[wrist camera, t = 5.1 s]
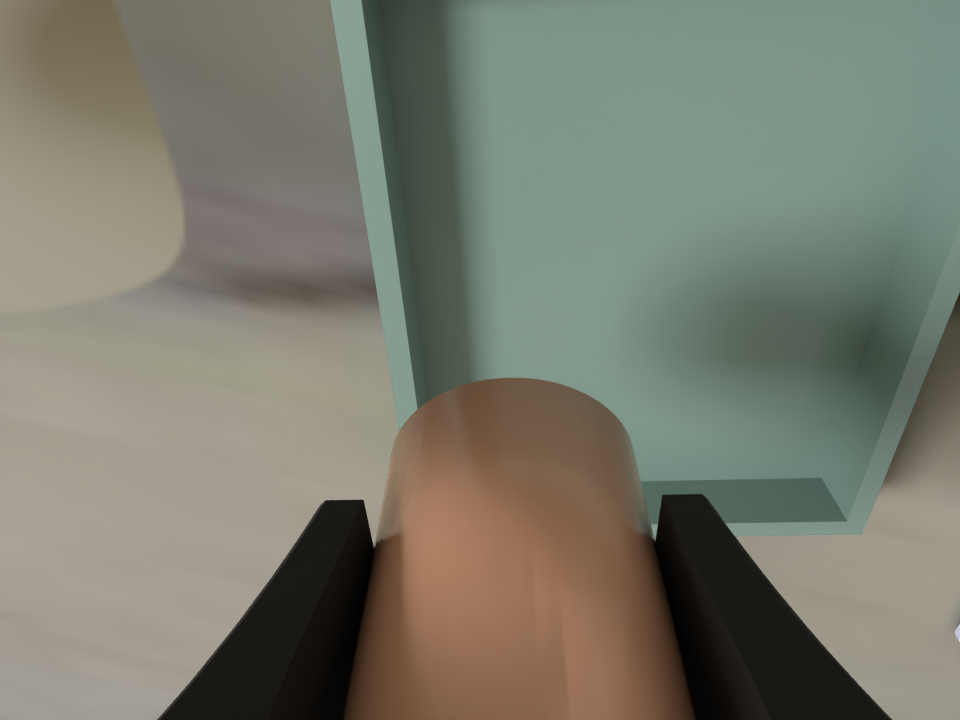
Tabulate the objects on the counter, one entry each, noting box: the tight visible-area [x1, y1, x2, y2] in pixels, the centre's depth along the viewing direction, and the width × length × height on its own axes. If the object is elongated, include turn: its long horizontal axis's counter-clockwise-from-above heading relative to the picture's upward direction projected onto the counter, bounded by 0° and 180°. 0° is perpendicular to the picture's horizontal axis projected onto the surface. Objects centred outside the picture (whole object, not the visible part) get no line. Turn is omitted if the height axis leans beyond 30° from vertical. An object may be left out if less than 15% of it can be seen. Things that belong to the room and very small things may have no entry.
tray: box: [330, 0, 960, 537], centre depth 17 cm, size 14×16×2 cm
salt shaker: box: [343, 378, 696, 720], centre depth 9 cm, size 5×5×7 cm
